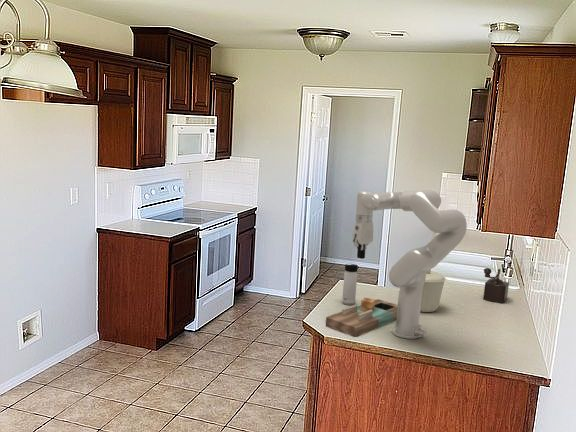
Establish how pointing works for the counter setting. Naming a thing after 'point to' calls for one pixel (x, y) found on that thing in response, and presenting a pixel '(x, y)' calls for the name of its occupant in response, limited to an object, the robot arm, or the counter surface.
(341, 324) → the board
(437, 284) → the canister
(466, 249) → the counter surface
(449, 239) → the robot arm
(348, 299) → the travel mug
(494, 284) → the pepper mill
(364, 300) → the block
